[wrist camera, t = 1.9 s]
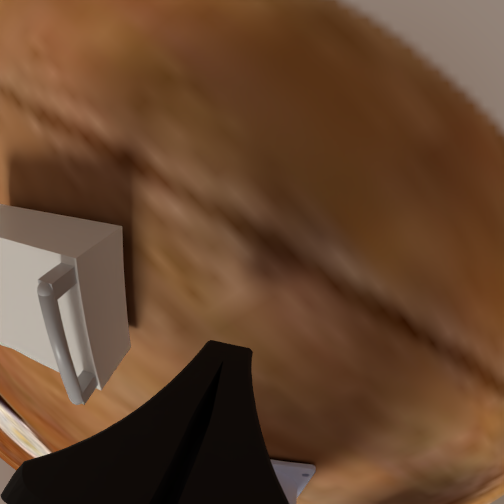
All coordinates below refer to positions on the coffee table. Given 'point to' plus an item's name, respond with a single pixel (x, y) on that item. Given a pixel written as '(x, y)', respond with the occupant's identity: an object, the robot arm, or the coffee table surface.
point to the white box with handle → (64, 295)
